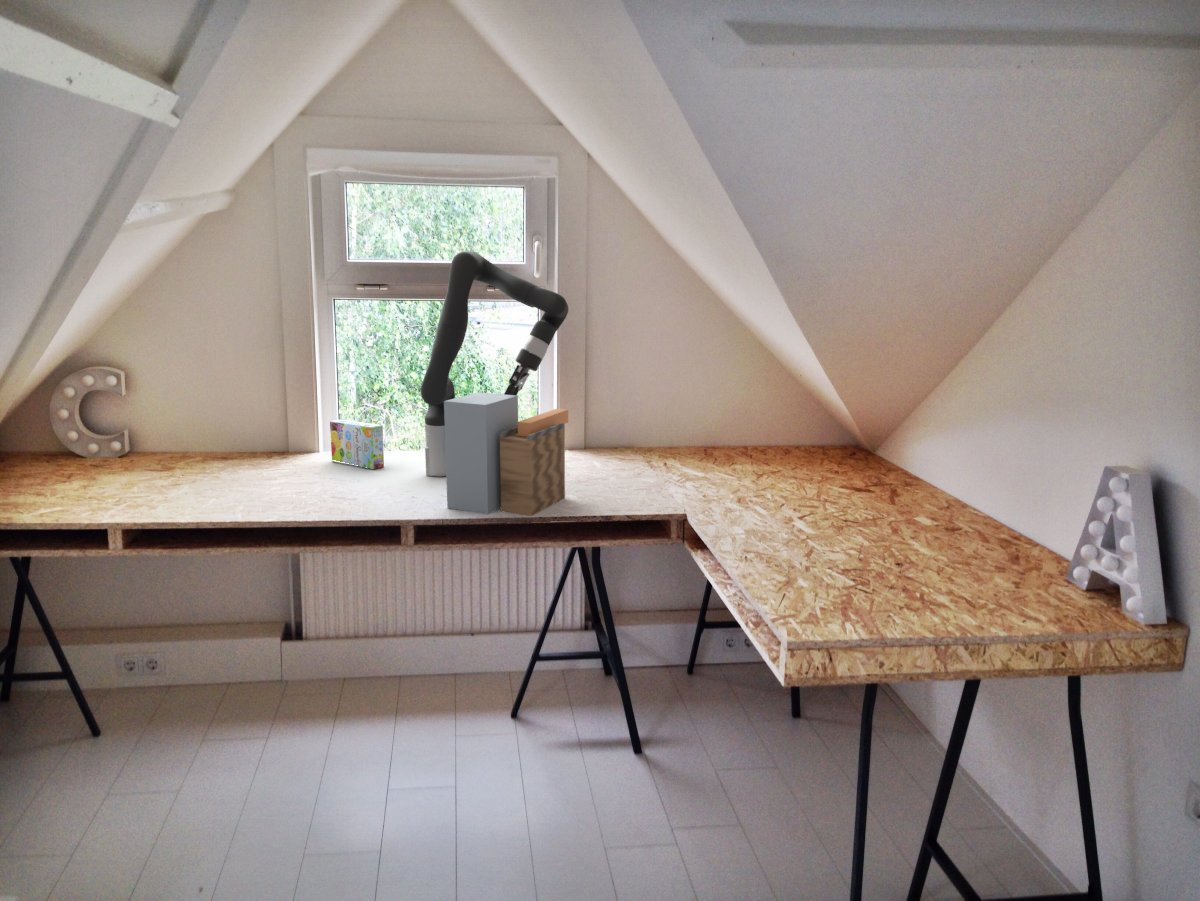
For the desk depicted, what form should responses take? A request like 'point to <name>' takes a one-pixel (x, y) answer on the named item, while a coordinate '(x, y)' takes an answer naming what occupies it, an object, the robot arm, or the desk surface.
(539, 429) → the rail
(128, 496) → the desk surface
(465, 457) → the grey tall rectangular block
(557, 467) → the wood grain block
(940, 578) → the desk surface
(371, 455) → the snack box
